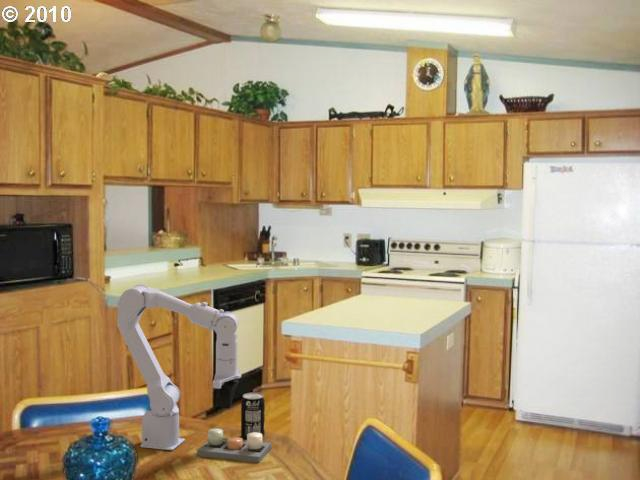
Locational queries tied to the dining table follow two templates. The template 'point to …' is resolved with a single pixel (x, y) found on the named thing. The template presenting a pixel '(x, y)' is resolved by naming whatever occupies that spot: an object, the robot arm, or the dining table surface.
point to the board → (234, 452)
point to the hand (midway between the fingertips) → (226, 407)
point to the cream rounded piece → (254, 440)
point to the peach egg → (235, 443)
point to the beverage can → (252, 414)
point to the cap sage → (215, 436)
